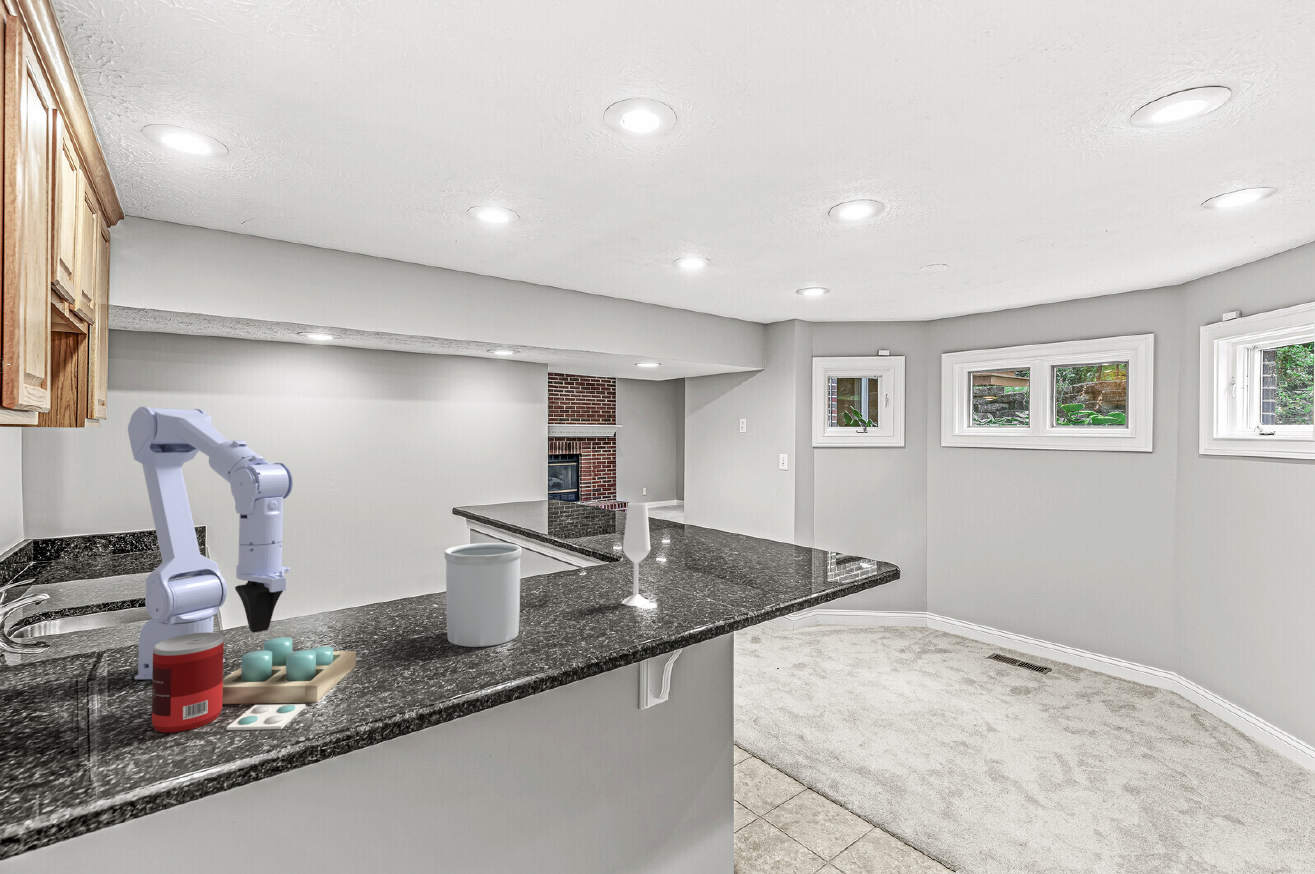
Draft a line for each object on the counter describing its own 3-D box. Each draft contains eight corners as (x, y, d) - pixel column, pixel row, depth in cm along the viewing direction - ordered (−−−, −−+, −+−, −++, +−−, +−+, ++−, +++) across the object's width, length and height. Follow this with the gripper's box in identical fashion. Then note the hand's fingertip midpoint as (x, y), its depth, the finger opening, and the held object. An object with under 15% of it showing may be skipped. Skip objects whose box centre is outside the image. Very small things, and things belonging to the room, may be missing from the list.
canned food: (234, 707, 91) (236, 632, 91) (196, 734, 83) (197, 650, 83) (180, 707, 91) (181, 631, 91) (136, 733, 83) (138, 650, 83)
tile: (226, 730, 85) (226, 725, 85) (254, 707, 92) (254, 703, 92) (281, 728, 85) (281, 724, 85) (305, 706, 92) (305, 702, 92)
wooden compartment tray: (209, 704, 93) (210, 687, 93) (264, 666, 107) (264, 651, 107) (317, 702, 94) (317, 685, 94) (355, 665, 109) (356, 650, 109)
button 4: (300, 676, 102) (301, 654, 102) (312, 667, 106) (312, 646, 106) (326, 676, 102) (327, 654, 102) (336, 667, 106) (337, 646, 106)
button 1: (235, 682, 95) (235, 659, 95) (249, 672, 99) (250, 650, 99) (263, 682, 95) (263, 659, 95) (276, 672, 99) (277, 650, 99)
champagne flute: (633, 607, 149) (636, 505, 149) (616, 601, 154) (618, 503, 154) (655, 602, 154) (657, 504, 154) (637, 597, 159) (638, 501, 159)
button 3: (280, 682, 96) (281, 659, 96) (293, 672, 100) (293, 650, 100) (308, 681, 96) (308, 658, 96) (320, 671, 100) (320, 649, 100)
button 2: (258, 666, 101) (258, 645, 101) (271, 658, 105) (271, 637, 105) (284, 666, 102) (285, 644, 102) (296, 657, 106) (296, 637, 106)
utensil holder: (426, 643, 121) (428, 551, 121) (471, 621, 135) (473, 540, 135) (494, 652, 117) (496, 557, 117) (533, 629, 131) (535, 544, 131)
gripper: (308, 544, 96) (306, 634, 96) (271, 533, 105) (269, 615, 105) (256, 550, 90) (254, 645, 90) (221, 538, 100) (220, 624, 100)
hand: (259, 630), depth 97 cm, fingers closed
